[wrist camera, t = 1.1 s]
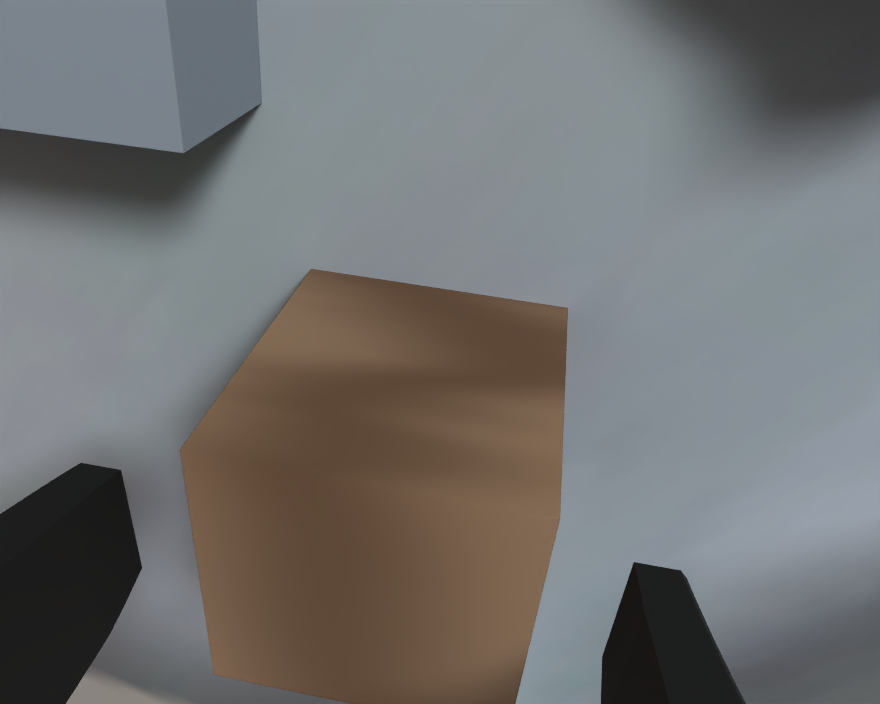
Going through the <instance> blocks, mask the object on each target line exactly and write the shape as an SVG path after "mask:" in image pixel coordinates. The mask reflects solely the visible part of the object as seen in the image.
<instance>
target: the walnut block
mask: <svg viewBox="0 0 880 704" xmlns="http://www.w3.org/2000/svg"><path fill="white" fill-rule="evenodd" d="M567 318H568V308H564V307H558V306H551V305H545V304H538V303H532V302H525V301H518V300H512V299H505V298H499V297H492V296H486V295H479V294H473V293H466V292H459V291H453V290H446V289H440V288H433V287H427V286H420V285H413V284H407V283H400V282H394V281H387V280H381V279H374V278H368V277H361V276H354V275H348V274H341V273H335V272H328V271H322V270H315V269H311V270H310V271H309V273H308V274H307V275H306V277H305V278H304V280H303V281H302V282H301V284H300V285H299V286H298V288H297V289H296V291H295V292H294V293H293V295H292V296H291V297H290V299H289V300H288V302H287V303H286V304H285V306H284V307H283V309H282V310H281V311H280V313H279V314H278V315H277V317H276V318H275V320H274V321H273V322H272V324H271V325H270V326H269V328H268V329H267V331H266V332H265V333H264V335H263V336H262V337H261V339H260V340H259V342H258V343H257V344H256V346H255V347H254V348H253V350H252V351H251V353H250V354H249V355H248V357H247V358H246V359H245V361H244V362H243V364H242V365H241V366H240V368H239V369H238V370H237V372H236V373H235V375H234V376H233V377H232V379H231V380H230V382H229V383H228V384H227V386H226V387H225V388H224V390H223V391H222V393H221V394H220V395H219V397H218V398H217V399H216V401H215V402H214V404H213V405H212V406H211V408H210V409H209V410H208V412H207V413H206V415H205V416H204V417H203V419H202V420H201V421H200V423H199V424H198V426H197V427H196V428H195V430H194V431H193V432H192V434H191V435H190V437H189V438H188V439H187V441H186V442H185V443H184V445H183V446H182V448H181V449H180V454H181V461H182V468H183V474H184V481H185V487H186V494H187V500H188V507H189V513H190V520H191V527H192V533H193V540H194V546H195V553H196V559H197V566H198V573H199V579H200V586H201V592H202V599H203V605H204V612H205V619H206V625H207V632H208V638H209V645H210V651H211V658H212V664H213V671H214V675H218V676H222V677H227V678H232V679H237V680H241V681H246V682H251V683H256V684H260V685H265V686H270V687H275V688H280V689H284V690H289V691H294V692H299V693H303V694H308V695H313V696H318V697H322V698H327V699H332V700H337V701H341V702H346V703H351V704H515V703H516V698H517V694H518V690H519V686H520V682H521V678H522V674H523V670H524V665H525V661H526V657H527V653H528V649H529V645H530V641H531V636H532V632H533V628H534V624H535V620H536V616H537V612H538V608H539V603H540V599H541V595H542V591H543V587H544V583H545V579H546V574H547V570H548V566H549V562H550V558H551V554H552V550H553V546H554V541H555V537H556V533H557V529H558V525H559V521H560V508H561V481H562V454H563V427H564V400H565V373H566V346H567Z"/></svg>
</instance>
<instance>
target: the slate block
mask: <svg viewBox="0 0 880 704" xmlns="http://www.w3.org/2000/svg"><path fill="white" fill-rule="evenodd" d="M261 103H262V96H261V78H260V60H259V41H258V23H257V5H256V0H0V128H2V129H10V130H17V131H24V132H32V133H39V134H46V135H54V136H61V137H68V138H76V139H83V140H90V141H98V142H105V143H112V144H120V145H127V146H134V147H142V148H149V149H156V150H164V151H171V152H178V153H185V152H186V151H188V150H190V149H191V148H193V147H194V146H196V145H197V144H199V143H200V142H202V141H203V140H205V139H207V138H208V137H210V136H211V135H213V134H214V133H216V132H217V131H219V130H220V129H222V128H224V127H225V126H227V125H228V124H230V123H231V122H233V121H234V120H236V119H237V118H239V117H241V116H242V115H244V114H245V113H247V112H248V111H250V110H251V109H253V108H254V107H256V106H258V105H259V104H261Z"/></svg>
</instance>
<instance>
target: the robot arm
mask: <svg viewBox="0 0 880 704" xmlns="http://www.w3.org/2000/svg"><path fill="white" fill-rule="evenodd" d="M141 569H142V566H141V561H140V556H139V552H138V547H137V542H136V538H135V533H134V528H133V524H132V519H131V515H130V510H129V505H128V501H127V496H126V491H125V487H124V482H123V477H122V473H121V470H118V469H112V468H106V467H101V466H95V465H90V464H84V463H80V464H78V465H77V466H75V467H73V468H72V469H70V470H68V471H67V472H65V473H63V474H62V475H60V476H59V477H57V478H55V479H54V480H52V481H51V482H49V483H48V484H46V485H44V486H43V487H41V488H40V489H38V490H37V491H35V492H34V493H32V494H30V495H29V496H27V497H26V498H24V499H23V500H21V501H20V502H18V503H17V504H15V505H14V506H12V507H10V508H9V509H7V510H6V511H4V512H3V513H1V514H0V704H66V702H67V701H68V699H69V698H70V696H71V695H72V693H73V692H74V690H75V688H76V687H77V685H78V684H79V682H80V680H81V679H82V677H83V676H84V674H85V673H86V671H87V670H88V668H89V666H90V665H91V663H92V662H93V660H94V659H95V657H96V656H97V654H98V652H99V651H100V649H101V648H102V646H103V644H104V643H105V641H106V640H107V638H108V636H109V635H110V633H111V631H112V629H113V627H114V625H115V623H116V621H117V619H118V617H119V615H120V613H121V611H122V609H123V607H124V605H125V603H126V601H127V599H128V597H129V594H130V592H131V590H132V588H133V586H134V584H135V582H136V579H137V577H138V575H139V573H140V571H141ZM601 704H746V703H745V701H744V700H743V698H742V696H741V694H740V692H739V690H738V688H737V686H736V684H735V682H734V680H733V678H732V676H731V674H730V672H729V670H728V668H727V665H726V663H725V661H724V659H723V657H722V655H721V653H720V651H719V649H718V647H717V645H716V643H715V641H714V638H713V636H712V634H711V632H710V630H709V628H708V626H707V623H706V621H705V619H704V617H703V615H702V612H701V610H700V608H699V606H698V603H697V601H696V599H695V597H694V594H693V592H692V590H691V587H690V585H689V583H688V580H687V578H686V577H685V575H684V574H683V573H682V572H681V571H680V570H674V569H669V568H663V567H658V566H652V565H647V564H641V563H635V562H634V564H633V567H632V570H631V573H630V575H629V578H628V581H627V584H626V587H625V590H624V593H623V596H622V599H621V602H620V605H619V608H618V611H617V614H616V617H615V620H614V623H613V626H612V629H611V632H610V635H609V638H608V641H607V644H606V647H605V650H604V653H603V656H602V685H601Z"/></svg>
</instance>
